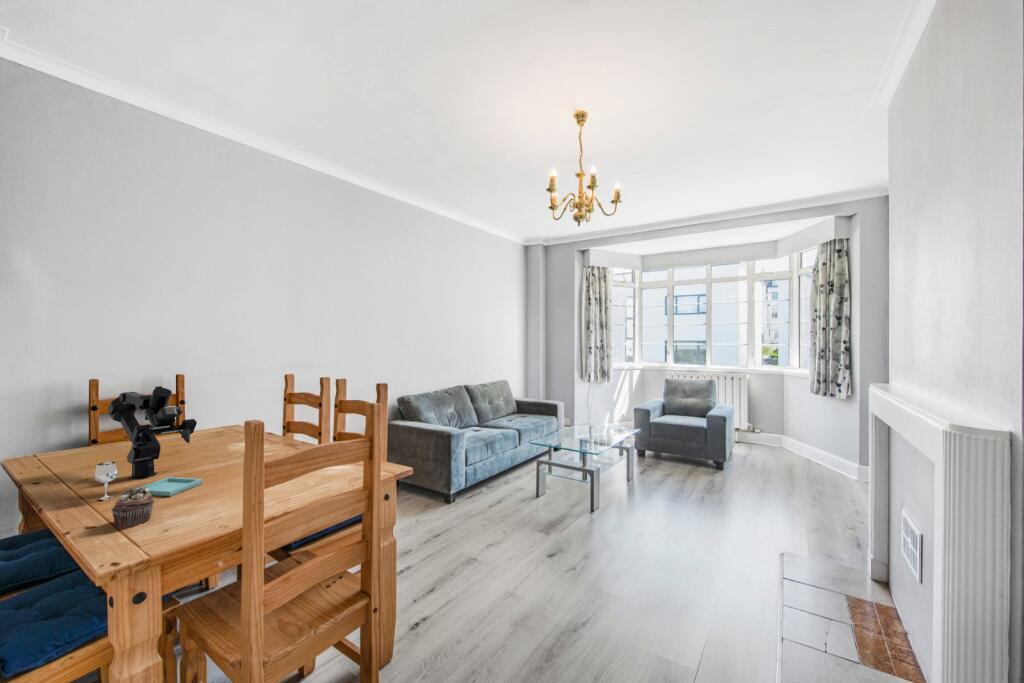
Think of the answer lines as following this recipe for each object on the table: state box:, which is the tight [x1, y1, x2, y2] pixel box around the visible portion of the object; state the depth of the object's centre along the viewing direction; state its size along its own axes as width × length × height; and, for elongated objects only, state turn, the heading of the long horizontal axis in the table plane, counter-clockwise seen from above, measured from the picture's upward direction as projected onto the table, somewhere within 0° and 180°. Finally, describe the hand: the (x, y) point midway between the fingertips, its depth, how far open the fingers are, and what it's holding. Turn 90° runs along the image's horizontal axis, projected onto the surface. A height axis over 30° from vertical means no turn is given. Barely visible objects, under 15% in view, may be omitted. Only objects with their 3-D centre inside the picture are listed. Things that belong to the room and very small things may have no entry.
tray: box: [135, 476, 203, 498], centre depth 159 cm, size 14×14×2 cm
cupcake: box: [111, 487, 155, 528], centre depth 131 cm, size 10×10×10 cm
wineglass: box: [94, 461, 119, 499], centre depth 148 cm, size 6×6×12 cm
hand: (174, 444), depth 159 cm, fingers open, 9 cm apart
